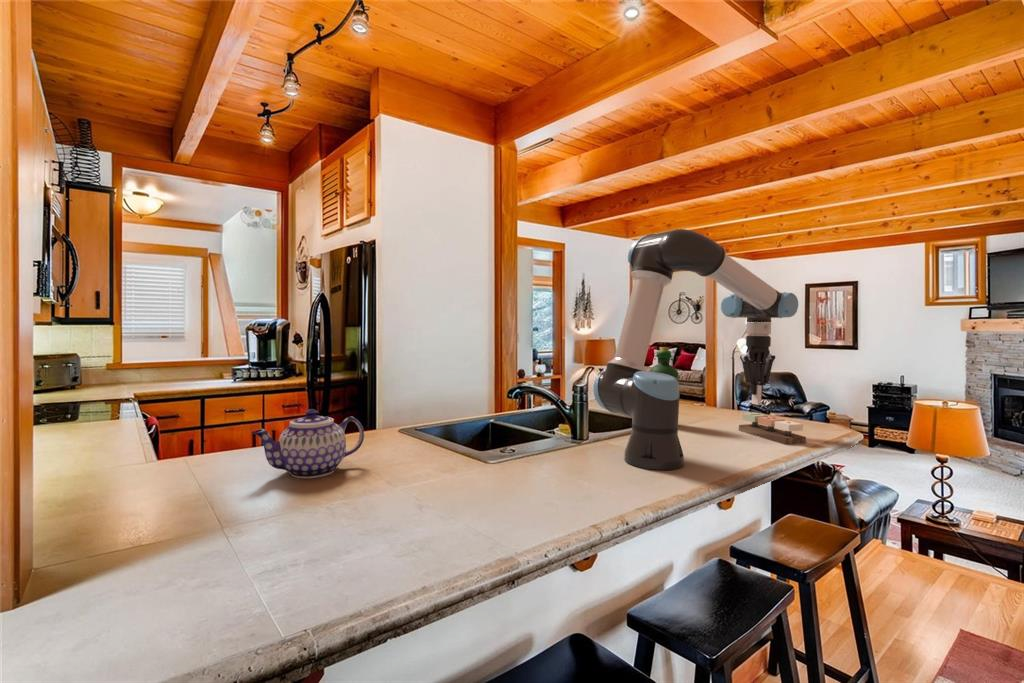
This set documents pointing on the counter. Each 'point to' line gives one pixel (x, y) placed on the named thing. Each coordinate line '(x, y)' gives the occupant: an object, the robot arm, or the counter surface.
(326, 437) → the teapot
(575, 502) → the counter surface
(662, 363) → the bottle
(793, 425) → the cream tile
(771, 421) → the terracotta tile
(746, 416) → the sage tile
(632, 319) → the robot arm
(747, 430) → the button board
